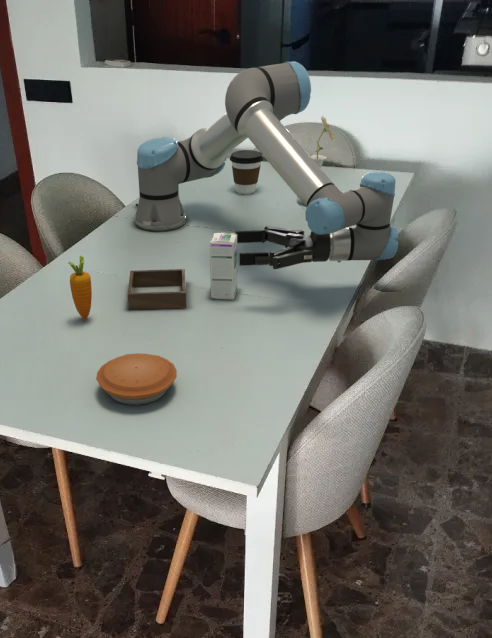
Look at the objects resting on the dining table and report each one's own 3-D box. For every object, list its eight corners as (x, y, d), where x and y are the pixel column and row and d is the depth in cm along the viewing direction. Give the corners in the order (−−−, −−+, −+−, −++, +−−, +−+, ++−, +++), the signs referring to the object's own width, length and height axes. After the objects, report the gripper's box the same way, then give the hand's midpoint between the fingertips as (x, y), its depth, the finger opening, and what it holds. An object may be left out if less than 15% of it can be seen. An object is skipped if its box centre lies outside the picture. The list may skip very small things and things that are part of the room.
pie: (94, 413, 131) (92, 390, 128) (101, 370, 143) (99, 348, 140) (177, 411, 131) (176, 388, 128) (176, 367, 143) (176, 346, 140)
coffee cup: (223, 189, 236) (223, 152, 229) (251, 184, 239) (252, 147, 232) (239, 198, 228) (240, 160, 221) (268, 193, 231) (269, 155, 224)
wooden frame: (131, 285, 176) (130, 270, 174) (185, 283, 176) (185, 268, 174) (128, 310, 165) (127, 294, 163) (186, 308, 165) (185, 292, 163)
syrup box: (234, 300, 168) (235, 241, 159) (209, 298, 169) (209, 240, 160) (237, 290, 172) (238, 232, 164) (213, 288, 173) (213, 231, 165)
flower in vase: (328, 209, 217) (337, 123, 202) (292, 206, 220) (298, 121, 206) (336, 196, 227) (344, 113, 212) (301, 193, 230) (307, 111, 216)
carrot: (78, 326, 159) (70, 264, 150) (71, 317, 163) (63, 256, 154) (99, 321, 161) (92, 259, 152) (91, 312, 165) (84, 252, 156)
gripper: (337, 282, 155) (241, 285, 156) (318, 240, 175) (233, 243, 176) (340, 249, 151) (241, 253, 151) (320, 210, 171) (233, 213, 171)
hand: (237, 247), depth 163 cm, fingers open, 13 cm apart
